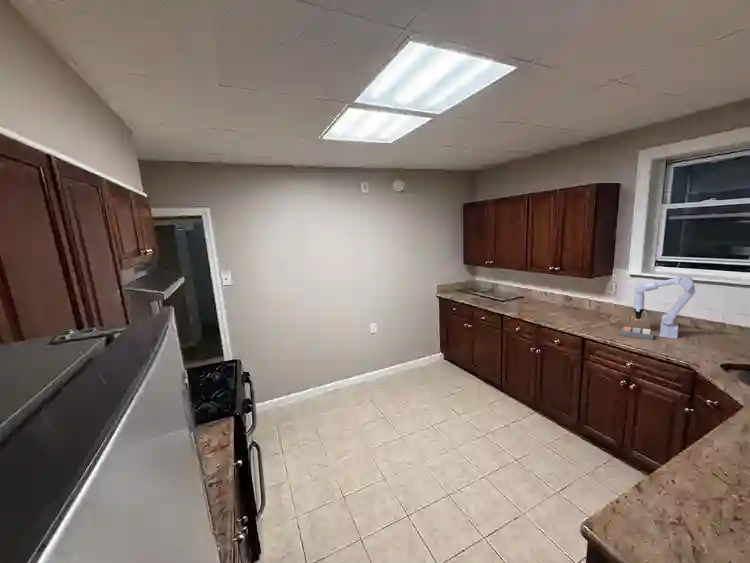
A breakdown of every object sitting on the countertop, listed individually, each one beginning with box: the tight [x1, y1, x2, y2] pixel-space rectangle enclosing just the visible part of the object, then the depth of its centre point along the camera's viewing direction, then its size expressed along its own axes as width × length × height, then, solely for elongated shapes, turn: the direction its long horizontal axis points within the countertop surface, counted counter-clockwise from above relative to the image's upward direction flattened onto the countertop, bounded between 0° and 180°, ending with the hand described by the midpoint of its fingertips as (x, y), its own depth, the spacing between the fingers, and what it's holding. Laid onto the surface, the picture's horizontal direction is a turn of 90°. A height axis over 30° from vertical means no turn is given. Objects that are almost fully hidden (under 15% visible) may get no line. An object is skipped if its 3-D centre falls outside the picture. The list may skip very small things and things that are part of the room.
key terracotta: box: [623, 326, 632, 332], centre depth 239 cm, size 4×4×4 cm
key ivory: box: [642, 328, 652, 334], centre depth 232 cm, size 4×4×4 cm
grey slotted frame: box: [619, 327, 655, 341], centre depth 236 cm, size 19×9×3 cm, turn 47°
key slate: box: [632, 327, 642, 333], centre depth 236 cm, size 4×4×4 cm
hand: (638, 318), depth 242 cm, fingers closed
